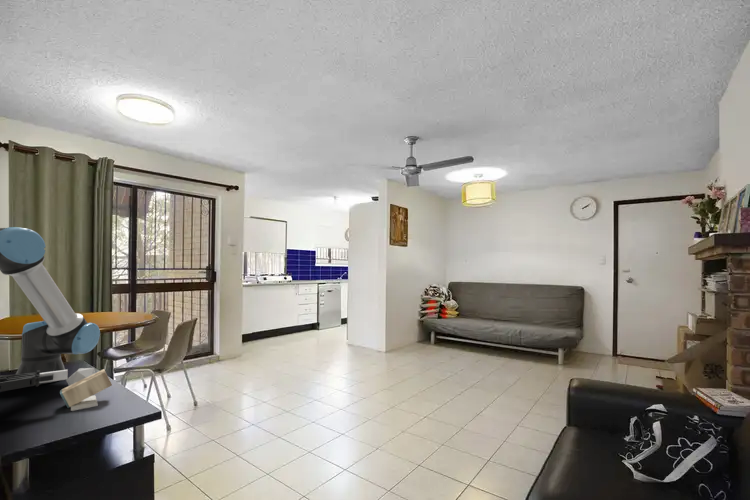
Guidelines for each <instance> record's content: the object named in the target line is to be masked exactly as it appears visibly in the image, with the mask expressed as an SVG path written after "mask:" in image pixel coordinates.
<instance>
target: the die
mask: <svg viewBox="0 0 750 500" xmlns="http://www.w3.org/2000/svg"><path fill="white" fill-rule="evenodd" d="M95 373H97V372H96V370H95V368H94V367H87V368H86V367H81V368H80V367H79V368H78V369H77V370H76V371H75V372H74V373H72V374H71V375H70V376H69V377H67V379H66V380H65V381H66V383H67V385H68V386H70V385H72V384H74V383H76V382H78V381H80V380H82V379H84V378H87V377H89V376H91V375H93V374H95Z"/></svg>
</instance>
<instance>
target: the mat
mask: <svg viewBox="0 0 750 500" xmlns="http://www.w3.org/2000/svg"><path fill="white" fill-rule="evenodd" d="M98 406H99V404H98V399H97V396H96V394H94V395H92V396H90V397H88V398H86V399H84V400H83V401H81V402H79V403H77V404H75V405H73V406H71V407H70V411H72V412H74V411H78V410H83V409H90V408H95V407H98Z"/></svg>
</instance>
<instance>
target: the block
mask: <svg viewBox="0 0 750 500" xmlns="http://www.w3.org/2000/svg"><path fill="white" fill-rule="evenodd" d="M112 386H113V384H112V382H111V380H110V378H109V376H108V374H107V372H106V370H105V369H100V370H99V371H97V372H96V373H95V374H93V375H91V376H89V377H87V378H84V379H82V380H80V381H78V382H76V383H74V384H72V385H70V386H69V385H68V386H66V387H64V388H62V389H60V390H59V394H60V397H61V398H62V400H63V402H64V404H65V406H66V407H67V409H69V408H71V406H73V405H75V404H77V403H79V402H81V401H83V400H84V399H86V398H88V397H90V396H94V395H96V394H98V393H100V392H102V391H104V390H106V389H108V388H110V387H112Z"/></svg>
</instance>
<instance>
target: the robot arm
mask: <svg viewBox="0 0 750 500" xmlns="http://www.w3.org/2000/svg"><path fill="white" fill-rule="evenodd" d="M46 246H47V245H46V243H45V240H44V239H43V237H42V236H41V235H40V233H38V232H37V231H35V230H32V229H29V228H25V227H18V226H11V227H10V226H9V227H0V272H1V274H3V275H5V276H11V277H12V278H13V280H14V281H15V282H16V284H17V286H18V287H19V289H21V291H22V292H23V294H24V295H25V296H26V297H27V299H28V300H29V301H30V303H31V304H32V306H33V307H34V308H35V310H36V312H37V313H38V314H39V315H40V317H41V318H42V321H41V320H40V321H34V322H28V323H25V324H24V325H23V328H22V333H21V353H20V354H21V359H20V364H19V367H18V368H17V370H16V373H15V374H6V375H5V374H4V375H0V393H2V392H6V391H7V392H8V391H11V390H12V391H13V390H17V389H22V388H23V389H24V388H28V387H34V386H35V387H39V386H40V385H45V384H46V385H47V384H49V383H55V382H58V381H64V380H65V381H66V379H68V378H69V377H68V374H69V373H68V372H69V371H68V370H69V369H66V368H65V365H64V362H63V360H62V355H82V354H87V353H89V352H92V350H94V349H95V348H96V346H97V345H98V343H99V340H100V336H101V331H100V327H99V325H98V324H96V323H94V322H87V320H86V318H85V317H84V316H83V314H81V313H78V312H75V310H73V308H72V306H71V305H70V303H69V302H68V301H67V300H68V299H66V298H65V296H64V294H63V293H62V291H61V290H60V288H59V287H58V285H57V284H56V282H55V281H54V279H53V278H52V276H51V275H50V273H49V271H48V270H47V268H46V266H44V264H43V263H44V261H45V253H46V249H45V248H46Z"/></svg>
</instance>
